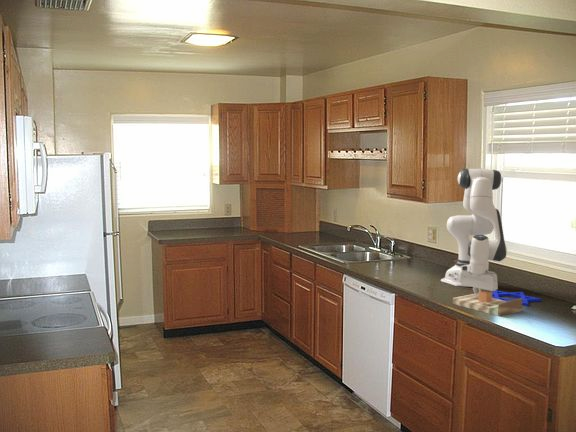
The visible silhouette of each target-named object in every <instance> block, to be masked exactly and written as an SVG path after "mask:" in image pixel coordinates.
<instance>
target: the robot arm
mask: <svg viewBox="0 0 576 432" xmlns="http://www.w3.org/2000/svg"><path fill="white" fill-rule="evenodd" d="M502 181H503V179H502V173H501V171H499V170H498V169H497V170H496V169H488V168H462V169H461V170H459V173H458V175H457V183H458V186H459V187H460V188H462V189H464V191H463V193H464V194H463V202H462V205H463V206H462V207H463V208H464V210H465V211H467V212H469V213H471V214H470V215H463V214H462V215H453V216H452V215H451V216H450V217H449V218H448V219H447V221H446V229H447V231H448V232H449V233H450V234H451V235H452V236H453V237H454V239H455V240H456V242H457V247H458V258H457V259H455V260H454V261H453V262H454V263H455V264H454V265H453V266H452V267H450V268H449V269H447V270H446V272H445V275H444V277H443V278H441V279H440V282H442V283H446V284H448V285H452V286H455V287H466V288H467V287H469V288H471V287H472V290H473V294H475V295H474V296H476V297H478V295H479V291H484V290H485V291H489V292H493V291H496V290H497V291H498V289H499V288H498V286H499V285H498V274H497V273H496V272H495V271H492V270H489V267H490V266H489V265H490V264H489V263H490V262H489V261H494V262H501V261H504V259H506V258H507V255H508V249H507V245H506V241H505V236H504V230H503V229H504V228H503V223H502V218H501V213H500V210H499V209H498V208H496V207H495V205H494V201H493V199H494V197H493V196H494V195H493V190H494V191H495V190H497V189H499V188H500V187H501V184H502ZM493 231H494V236H495V240H490V238H489V237H488V236H486V235H491V234H492V233H493ZM470 236H472V237H471V239H470Z"/></svg>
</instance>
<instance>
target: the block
mask: <svg viewBox="0 0 576 432" xmlns="http://www.w3.org/2000/svg"><path fill="white" fill-rule="evenodd" d="M478 292H479V295H478V301H482V302H485V303H487V302H491V301H492V294H493V291H489V290H484V289H483V291H479V290H478Z"/></svg>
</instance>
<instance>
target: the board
mask: <svg viewBox="0 0 576 432" xmlns="http://www.w3.org/2000/svg"><path fill="white" fill-rule="evenodd" d="M474 295H475V293H471V294H467V295H466V294H465V295H462V296H457V297H452V305H455V306H459V307H462V308H467V309H470V310H474V311H479V312H481V313H486V314H489V315H494V316H496V315H497V317H503V315H504V316H507V314H508V315H511V313H512V314H515V312H516V313H521V312H523V305H522V298H516V299H515V298H514V299H515V300H511V301H504V300H500V299H495V298H492V301H491V302H487V303H485V302H482V301H478V297H476V296H474Z"/></svg>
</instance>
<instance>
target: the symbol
mask: <svg viewBox="0 0 576 432" xmlns="http://www.w3.org/2000/svg"><path fill="white" fill-rule="evenodd" d="M501 296H503V297H501ZM505 297H511V298H514V299H510V298H505ZM492 298H495V299H500V300H504V301H511V300H515V298H516V299H520V298H522V306H526V307H529V303H536V302H538V303H539V302H542V298H539V297H533V296H528V295H525V293H524V292H523V291H516V292H508V291H507V292H506V291H501V290H498V289H497V290H496V291H492Z"/></svg>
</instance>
